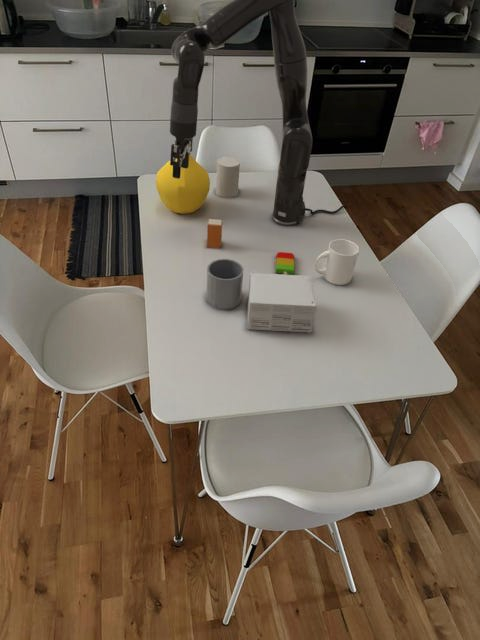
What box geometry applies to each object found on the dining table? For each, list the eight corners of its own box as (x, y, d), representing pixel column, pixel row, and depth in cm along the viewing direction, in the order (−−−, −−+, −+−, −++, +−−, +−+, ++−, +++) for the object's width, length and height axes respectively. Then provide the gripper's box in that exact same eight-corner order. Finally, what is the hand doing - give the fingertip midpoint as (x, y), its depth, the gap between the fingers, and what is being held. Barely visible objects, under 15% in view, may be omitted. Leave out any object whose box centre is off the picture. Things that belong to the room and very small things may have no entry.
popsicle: (293, 257, 158) (294, 252, 157) (294, 286, 147) (295, 281, 145) (276, 256, 158) (276, 251, 157) (275, 284, 147) (276, 279, 145)
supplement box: (307, 302, 142) (312, 275, 135) (311, 333, 132) (317, 306, 125) (247, 298, 141) (249, 271, 135) (247, 329, 131) (249, 302, 125)
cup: (237, 198, 185) (239, 167, 177) (215, 196, 184) (216, 165, 177) (238, 188, 191) (240, 157, 183) (216, 186, 191) (217, 156, 183)
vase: (219, 206, 179) (223, 121, 160) (186, 226, 168) (185, 137, 148) (180, 189, 187) (179, 107, 167) (146, 207, 175) (140, 121, 156)
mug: (308, 269, 154) (314, 239, 146) (346, 268, 155) (353, 238, 148) (315, 286, 147) (322, 256, 140) (354, 285, 149) (363, 255, 142)
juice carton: (221, 242, 162) (222, 219, 156) (220, 248, 159) (221, 225, 154) (207, 241, 162) (208, 218, 156) (206, 247, 159) (207, 224, 154)
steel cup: (241, 288, 144) (243, 259, 138) (240, 310, 137) (243, 281, 130) (207, 286, 144) (208, 257, 137) (205, 308, 137) (206, 278, 130)
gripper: (189, 127, 136) (185, 184, 146) (203, 113, 147) (198, 166, 157) (163, 122, 136) (161, 178, 147) (178, 108, 148) (175, 161, 158)
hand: (180, 172), depth 152 cm, fingers open, 8 cm apart
